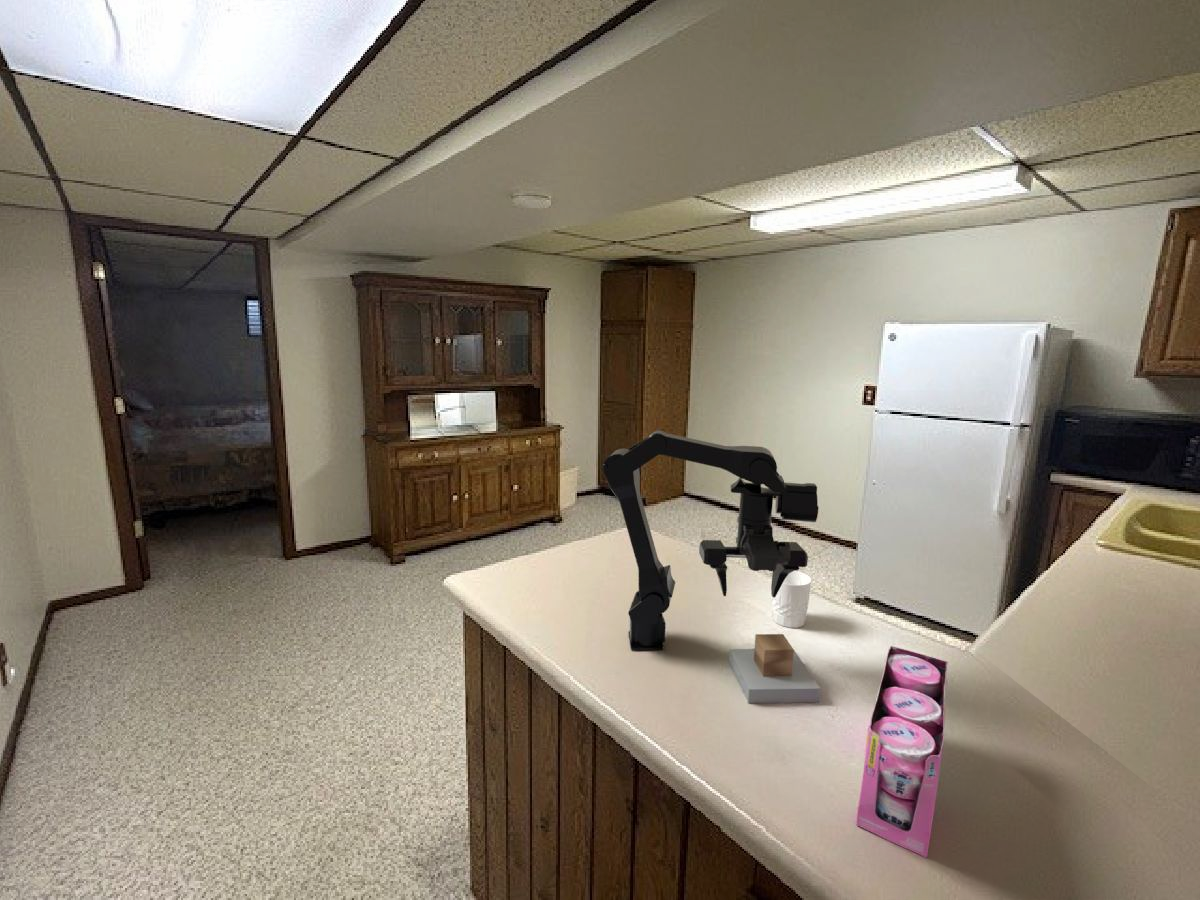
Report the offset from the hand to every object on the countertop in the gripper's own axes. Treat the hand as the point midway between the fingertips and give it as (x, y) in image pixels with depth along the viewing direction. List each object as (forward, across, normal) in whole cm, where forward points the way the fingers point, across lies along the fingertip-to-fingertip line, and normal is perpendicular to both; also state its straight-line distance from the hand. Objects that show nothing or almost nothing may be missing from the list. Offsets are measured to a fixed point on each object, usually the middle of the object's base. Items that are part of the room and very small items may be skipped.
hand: (748, 595), depth 100 cm
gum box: (+12, +14, -30) cm, 35 cm away
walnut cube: (+10, +3, -8) cm, 13 cm away
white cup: (+12, +13, +13) cm, 22 cm away
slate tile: (+12, +3, -8) cm, 15 cm away
